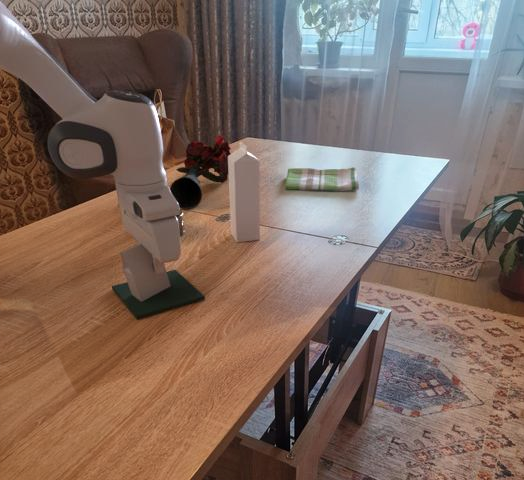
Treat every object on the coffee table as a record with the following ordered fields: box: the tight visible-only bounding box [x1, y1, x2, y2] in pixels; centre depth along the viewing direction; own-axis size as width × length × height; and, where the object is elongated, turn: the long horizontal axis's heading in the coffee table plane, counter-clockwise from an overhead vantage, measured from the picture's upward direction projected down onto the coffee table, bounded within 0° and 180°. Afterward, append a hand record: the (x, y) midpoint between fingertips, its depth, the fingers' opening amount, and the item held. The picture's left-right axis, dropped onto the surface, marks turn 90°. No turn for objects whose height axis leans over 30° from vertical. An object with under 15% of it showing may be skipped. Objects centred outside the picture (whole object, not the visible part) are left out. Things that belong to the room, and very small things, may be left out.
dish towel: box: [284, 166, 360, 191], centre depth 156 cm, size 17×23×4 cm
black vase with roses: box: [169, 135, 232, 211], centre depth 147 cm, size 16×18×35 cm
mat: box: [111, 269, 206, 320], centre depth 96 cm, size 14×14×1 cm
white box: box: [120, 243, 170, 302], centre depth 92 cm, size 4×7×10 cm, turn 132°
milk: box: [228, 140, 261, 243], centre depth 114 cm, size 6×6×22 cm
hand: (153, 266), depth 93 cm, fingers closed on white box, 4 cm apart
